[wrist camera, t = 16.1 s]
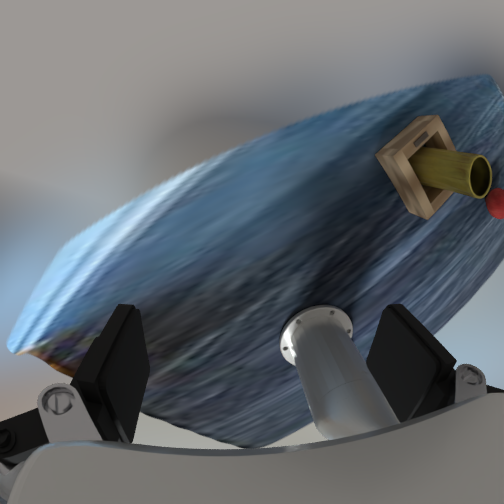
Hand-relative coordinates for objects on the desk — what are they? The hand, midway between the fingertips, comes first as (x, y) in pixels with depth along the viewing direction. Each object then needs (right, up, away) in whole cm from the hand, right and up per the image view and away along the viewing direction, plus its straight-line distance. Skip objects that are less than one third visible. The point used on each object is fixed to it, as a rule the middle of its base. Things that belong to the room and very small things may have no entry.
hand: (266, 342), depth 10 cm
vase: (+25, +17, +27) cm, 40 cm away
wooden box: (+25, +17, +27) cm, 40 cm away
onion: (+45, +14, +30) cm, 56 cm away
